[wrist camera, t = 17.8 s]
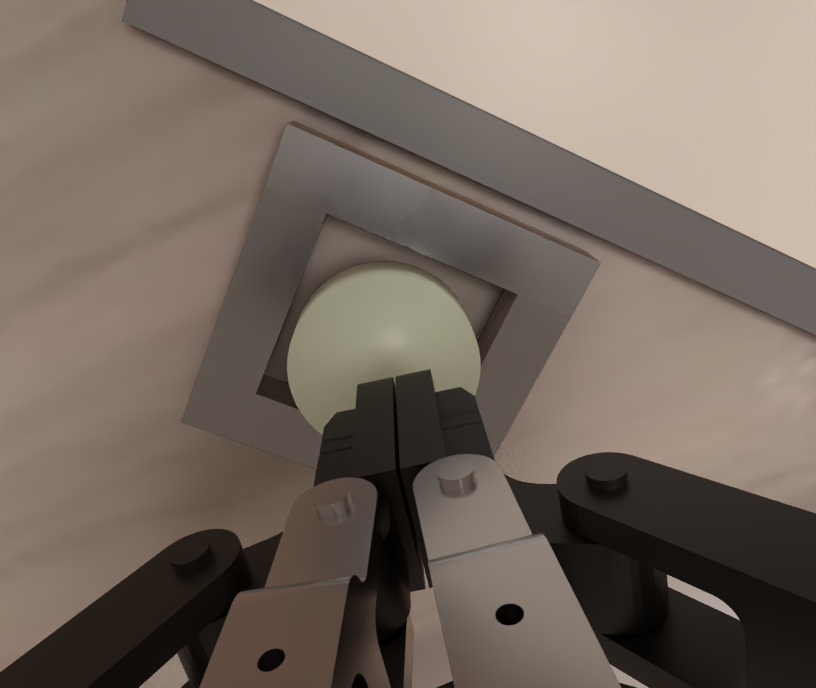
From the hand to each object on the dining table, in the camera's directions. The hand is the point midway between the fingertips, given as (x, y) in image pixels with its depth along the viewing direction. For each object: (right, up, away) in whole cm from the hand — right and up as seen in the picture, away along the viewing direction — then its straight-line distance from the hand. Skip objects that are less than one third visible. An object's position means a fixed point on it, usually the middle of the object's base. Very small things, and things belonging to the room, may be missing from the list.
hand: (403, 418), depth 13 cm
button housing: (-1, +2, +4) cm, 5 cm away
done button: (-1, +1, +3) cm, 3 cm away
